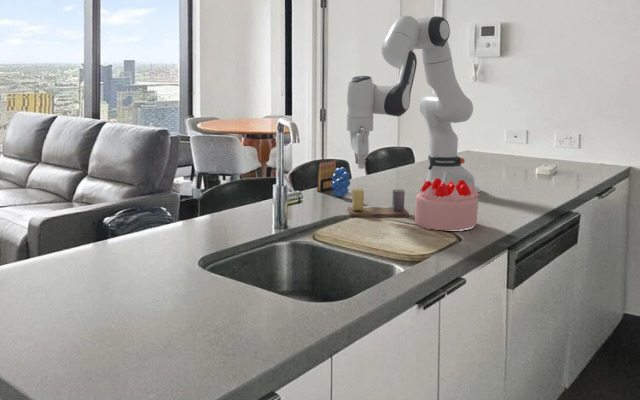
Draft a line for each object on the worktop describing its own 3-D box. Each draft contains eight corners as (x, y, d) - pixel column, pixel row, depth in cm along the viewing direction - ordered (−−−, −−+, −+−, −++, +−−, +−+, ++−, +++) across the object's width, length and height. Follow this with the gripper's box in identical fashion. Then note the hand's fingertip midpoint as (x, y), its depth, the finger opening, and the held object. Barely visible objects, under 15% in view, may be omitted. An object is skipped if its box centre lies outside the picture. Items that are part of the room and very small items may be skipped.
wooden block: (362, 208, 226) (362, 189, 224) (363, 210, 222) (363, 191, 221) (352, 208, 226) (352, 189, 224) (353, 210, 222) (353, 191, 221)
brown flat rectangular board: (403, 209, 230) (403, 206, 230) (409, 216, 220) (409, 213, 219) (347, 209, 229) (347, 206, 229) (350, 217, 219) (350, 213, 218)
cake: (413, 216, 220) (415, 175, 217) (473, 218, 219) (475, 177, 216) (416, 231, 201) (418, 186, 198) (481, 233, 200) (484, 188, 197)
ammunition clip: (320, 192, 259) (321, 162, 257) (317, 191, 260) (317, 162, 258) (337, 188, 267) (337, 159, 265) (333, 188, 268) (334, 159, 266)
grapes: (358, 199, 247) (358, 168, 245) (343, 200, 244) (343, 169, 241) (341, 193, 257) (342, 163, 254) (327, 195, 254) (327, 164, 251)
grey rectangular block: (402, 209, 227) (402, 189, 225) (403, 211, 223) (404, 191, 222) (392, 209, 226) (392, 189, 225) (393, 211, 223) (394, 191, 221)
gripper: (373, 128, 208) (372, 171, 211) (365, 122, 228) (365, 161, 231) (353, 128, 207) (353, 171, 210) (347, 122, 227) (347, 161, 230)
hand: (359, 166), depth 221 cm, fingers open, 8 cm apart
